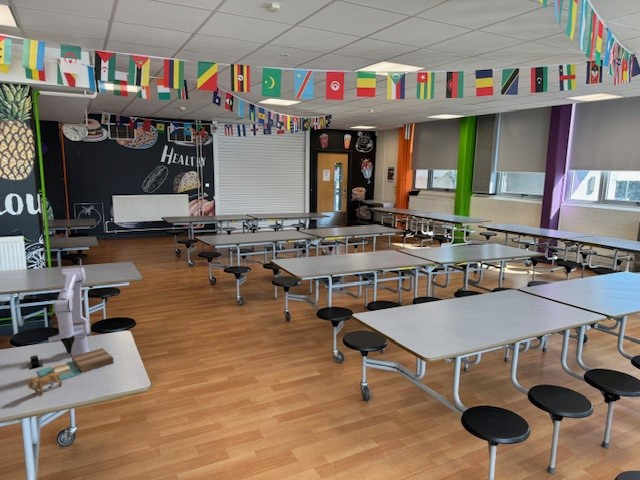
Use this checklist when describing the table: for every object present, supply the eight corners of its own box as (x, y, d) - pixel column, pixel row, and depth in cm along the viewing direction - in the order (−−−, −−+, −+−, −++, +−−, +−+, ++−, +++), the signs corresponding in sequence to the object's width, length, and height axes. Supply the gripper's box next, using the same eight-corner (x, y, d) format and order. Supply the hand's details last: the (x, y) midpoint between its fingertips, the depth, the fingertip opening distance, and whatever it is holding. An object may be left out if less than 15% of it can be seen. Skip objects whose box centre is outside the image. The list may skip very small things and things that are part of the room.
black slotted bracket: (25, 363, 208) (23, 355, 208) (42, 359, 213) (41, 350, 212) (28, 372, 199) (26, 363, 198) (46, 367, 203) (45, 358, 203)
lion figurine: (34, 400, 173) (31, 380, 171) (25, 398, 175) (22, 378, 173) (66, 383, 187) (64, 364, 185) (57, 382, 188) (55, 363, 187)
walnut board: (72, 362, 208) (71, 356, 207) (103, 353, 217) (102, 347, 217) (81, 373, 196) (81, 367, 196) (113, 363, 206) (113, 357, 205)
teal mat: (37, 371, 199) (37, 370, 198) (70, 361, 208) (70, 361, 208) (45, 385, 186) (45, 384, 186) (81, 374, 195) (81, 373, 195)
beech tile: (65, 362, 202) (65, 366, 203) (51, 366, 198) (51, 370, 198) (70, 368, 196) (71, 372, 196) (55, 372, 192) (56, 376, 192)
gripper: (49, 331, 189) (53, 360, 191) (85, 323, 199) (88, 350, 201) (46, 327, 194) (49, 355, 196) (81, 319, 204) (84, 346, 206)
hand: (69, 352), depth 199 cm, fingers closed
